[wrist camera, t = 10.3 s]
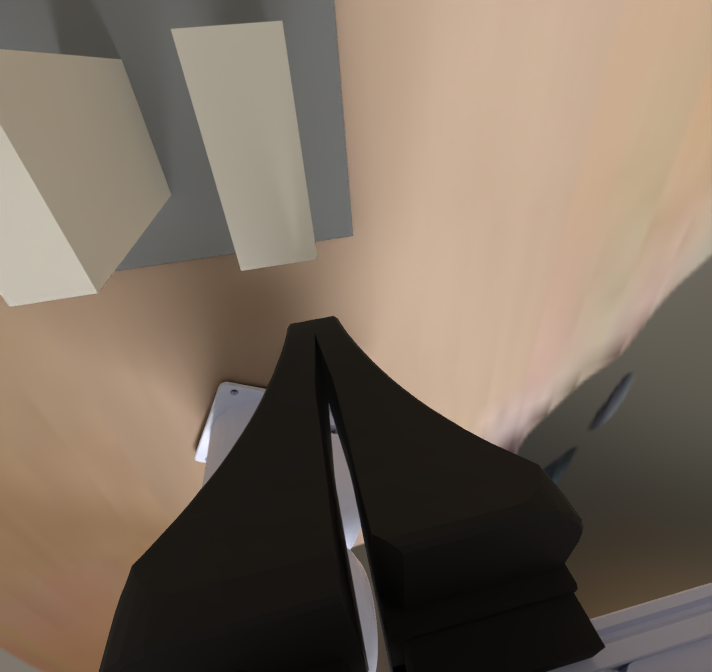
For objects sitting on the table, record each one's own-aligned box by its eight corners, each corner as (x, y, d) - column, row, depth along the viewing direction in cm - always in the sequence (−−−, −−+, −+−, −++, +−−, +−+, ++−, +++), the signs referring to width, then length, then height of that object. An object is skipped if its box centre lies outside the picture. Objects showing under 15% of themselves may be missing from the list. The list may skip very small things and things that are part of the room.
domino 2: (272, 47, 14) (282, 20, 7) (294, 179, 17) (317, 259, 10) (219, 51, 14) (170, 29, 6) (250, 184, 16) (240, 271, 9)
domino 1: (121, 59, 13) (-46, 45, 6) (171, 195, 16) (97, 293, 9) (63, 64, 13) (-184, 55, 6) (124, 201, 16) (9, 306, 9)
